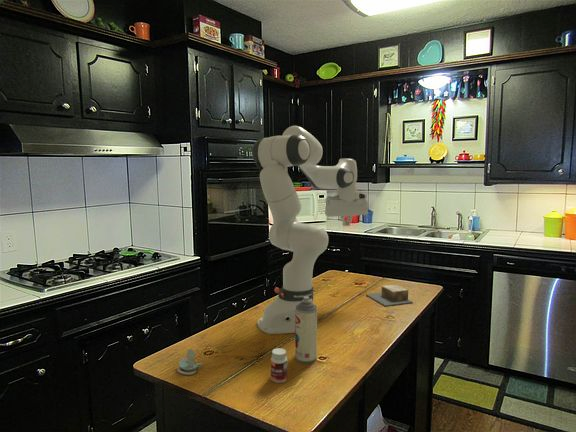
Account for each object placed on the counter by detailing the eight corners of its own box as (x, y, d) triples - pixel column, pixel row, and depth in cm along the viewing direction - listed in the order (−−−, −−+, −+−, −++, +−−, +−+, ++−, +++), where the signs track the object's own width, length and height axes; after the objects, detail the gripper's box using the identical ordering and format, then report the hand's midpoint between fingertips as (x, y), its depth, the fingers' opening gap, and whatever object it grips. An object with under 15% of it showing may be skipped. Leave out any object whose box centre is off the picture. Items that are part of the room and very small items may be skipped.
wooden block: (393, 291, 182) (408, 289, 185) (381, 286, 190) (396, 284, 193) (392, 301, 183) (408, 299, 185) (381, 295, 191) (396, 293, 194)
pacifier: (191, 378, 119) (204, 369, 124) (190, 358, 118) (203, 349, 123) (172, 372, 122) (186, 363, 128) (171, 352, 122) (185, 344, 127)
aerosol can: (294, 353, 134) (294, 293, 131) (315, 353, 134) (316, 293, 132) (295, 363, 127) (295, 301, 125) (317, 363, 127) (318, 300, 125)
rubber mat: (385, 306, 177) (385, 305, 177) (366, 295, 192) (366, 294, 192) (412, 302, 182) (412, 301, 182) (391, 292, 197) (391, 291, 197)
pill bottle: (267, 381, 117) (267, 353, 116) (275, 373, 121) (275, 346, 120) (283, 384, 115) (283, 356, 114) (290, 376, 119) (290, 349, 118)
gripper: (328, 196, 178) (328, 227, 180) (370, 194, 185) (369, 225, 187) (322, 195, 184) (322, 225, 186) (362, 193, 191) (362, 223, 193)
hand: (346, 225), depth 187 cm, fingers closed
